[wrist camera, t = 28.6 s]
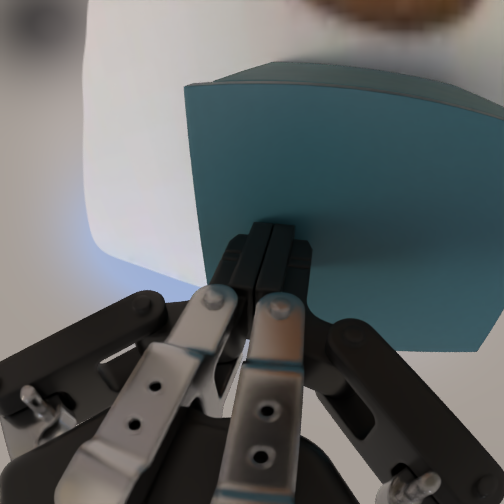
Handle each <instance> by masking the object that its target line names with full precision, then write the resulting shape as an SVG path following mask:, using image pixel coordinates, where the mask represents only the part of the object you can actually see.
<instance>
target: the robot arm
mask: <svg viewBox="0 0 504 504" xmlns="http://www.w3.org/2000/svg"><path fill="white" fill-rule="evenodd" d="M312 251H313V249H312V247H311V246H310V244H309V242H308V240H298V239H295V225H285V224H275V225H274V223H263V222H253V225H252V227H251V229H250V232H249V234H248V235H246V234H238V235H236V236H235V237H234V238H233V239H231V240H230V241H229V243H228V245H227V247H226V249H225V252H224V253H223V256H222V258H221V260H220V262H219V264H218V266H217V268H216V270H215V272H214V275H213V277H212V279H211V281H210V283H209V285H207V286H204V287H202V288H200V289H198V290H197V291H196V292H195V293H194V294H193V296H192V297H191V299H190V300H188V301H182V302H172V303H165V300H164V298H163V296H162V295H161V294H159V293H158V292H155V291H151V290H144V291H139V292H136V293H134V294H132V295H130V296H128V297H126V298H124V299H122V300H120V301H118V302H116V303H114V304H112V305H110V306H108V307H106V308H104V309H102V310H100V311H98V312H96V313H94V314H92V315H90V316H88V317H86V318H84V319H82V320H80V321H78V322H76V323H74V324H72V325H70V326H68V327H66V328H64V329H62V330H60V331H59V332H56V333H55V334H53V335H51V336H49V337H47V338H45V339H43V340H41V341H39V342H37V343H35V344H33V345H31V346H29V347H27V348H25V349H24V350H22V351H20V352H18V353H16V354H14V355H12V356H10V357H8V358H6V359H4V360H3V361H1V362H0V422H1V426H2V430H3V434H4V438H5V442H6V446H7V449H8V453H9V456H10V459H11V462H10V463H8V464H7V466H6V467H5V468H4V470H3V471H2V473H1V475H0V504H360V503H359V502H358V500H357V499H356V497H355V496H354V495H353V493H352V491H351V490H350V489H349V487H348V486H347V484H346V482H345V481H344V479H343V478H342V477H341V475H340V473H339V472H338V471H337V469H336V468H335V466H334V464H333V463H332V461H331V460H330V458H329V457H328V456H327V455H326V454H325V453H324V451H323V450H322V449H321V448H319V447H318V446H317V445H316V444H315V443H313V442H312V441H310V440H309V439H307V438H305V437H303V436H301V435H300V431H301V418H302V403H303V386H305V387H308V388H310V389H312V390H315V392H316V395H317V397H318V399H319V400H320V401H321V403H322V404H323V406H324V407H325V408H326V410H327V411H328V412H329V414H330V415H331V416H332V418H333V419H334V420H335V422H336V423H337V424H338V426H339V427H340V429H341V430H342V431H343V433H344V434H345V435H346V437H347V438H348V439H349V441H350V442H351V443H352V444H353V446H354V447H355V448H356V450H357V451H358V452H359V454H360V455H361V456H362V458H363V459H364V460H365V461H366V463H367V464H368V466H369V467H370V468H371V469H372V471H373V472H374V473H375V475H376V476H377V477H378V479H379V480H380V481H381V482H382V484H383V485H382V486H381V487H380V489H379V491H378V493H377V495H376V499H375V500H376V501H375V504H500V503H501V501H502V500H503V498H504V471H503V470H502V468H501V467H500V466H499V465H498V464H497V462H496V461H495V460H494V459H493V458H492V456H491V455H490V454H489V453H488V452H487V451H486V450H485V448H484V447H483V446H482V445H481V444H480V443H479V442H478V440H477V439H476V438H475V437H474V436H473V435H472V434H471V432H470V431H469V430H468V429H467V428H466V427H465V426H464V425H463V424H462V423H461V421H460V420H459V419H458V418H457V417H456V416H455V415H454V414H453V412H452V411H451V410H450V409H449V408H448V407H447V406H446V405H445V404H444V403H443V401H441V400H440V398H439V397H438V396H437V395H436V394H435V393H434V392H433V391H432V390H431V389H430V387H428V385H427V384H426V383H425V382H424V381H423V380H422V379H421V378H420V377H419V376H418V374H417V373H416V372H415V371H414V370H413V369H412V368H411V367H410V366H409V365H408V364H407V363H406V362H405V361H404V360H403V359H402V357H401V356H400V355H399V354H398V353H397V352H396V351H395V350H394V349H393V348H392V347H391V346H390V345H389V344H388V343H387V342H386V341H385V340H384V339H383V338H382V337H381V335H380V334H379V333H378V332H377V331H376V330H375V329H374V328H373V327H372V326H371V325H369V324H368V323H366V322H365V321H362V320H359V319H355V318H345V319H341V320H339V321H337V322H335V323H334V324H331V323H329V322H326V321H324V320H322V319H320V318H318V317H316V316H315V315H314V314H313V313H312V312H311V311H310V309H309V307H308V305H307V296H308V288H309V280H310V271H311V261H312ZM246 339H249V340H250V342H249V348H248V353H247V358H246V361H243V363H242V366H241V370H240V375H239V380H238V385H237V390H236V396H235V401H234V406H233V410H232V415H231V418H222V413H223V406H224V403H225V400H226V398H227V395H228V393H229V390H230V388H231V385H232V383H233V380H234V378H235V375H236V373H237V370H238V368H239V365H240V362H241V360H242V355H243V354H242V351H243V348H244V345H245V341H246ZM134 343H135V345H136V347H135V348H133V349H131V350H130V351H127V352H126V353H124V354H122V355H120V356H118V357H116V358H114V359H112V360H111V361H109V362H107V363H103V364H100V362H101V361H102V360H104V359H106V358H108V357H110V356H111V355H113V354H115V353H117V352H119V351H121V350H123V349H125V348H127V347H128V346H130V345H132V344H134ZM89 418H90V419H89ZM87 419H88V420H87ZM85 420H86V421H85ZM83 421H84V422H83ZM81 422H83V423H81ZM80 423H81V424H80ZM77 424H79V425H77ZM76 425H77V426H76Z"/></svg>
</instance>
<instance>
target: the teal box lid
mask: <svg viewBox="0 0 504 504" xmlns="http://www.w3.org/2000/svg"><path fill="white" fill-rule="evenodd" d="M184 97H185V108H186V118H187V129H188V139H189V148H190V157H191V166H192V175H193V184H194V192H195V200H196V208H197V215H198V223H199V230H200V238H201V245H202V252H203V259H204V266H205V272H206V279H207V285H209V283H210V281H211V279H212V277H213V275H214V272H215V270H216V268H217V266H218V264H219V262H220V260H221V258H222V256H223V253H224V252H225V249H226V247H227V245H228V243H229V241H230V240H231V239H233V238H234V237H235V236H236V235H238V234H246V235H248V234H249V232H250V229H251V227H252V225H253V222H263V223H274V225H275V224H285V225H295V239H298V240H308V242H309V244H310V246H311V247H312V249H313V251H312V261H311V271H310V280H309V288H308V296H307V305H308V307H309V309H310V311H311V312H312V313H313V314H314V315H315V316H316V317H318V318H320V319H322V320H324V321H326V322H329V323H331V324H334V323H335V322H337V321H339V320H341V319H345V318H355V319H359V320H362V321H365V322H366V323H368V324H369V325H371V326H372V327H373V328H374V329H375V330H376V331H377V332H378V333H379V334H380V335H381V337H382V338H383V339H384V340H385V341H386V342H387V343H388V344H389V345H390V346H391V347H392V348H393V349H394V350H395V351H416V352H421V351H422V352H477V351H478V349H479V348H480V346H481V345H482V343H483V342H484V340H485V339H486V337H487V336H488V334H489V333H490V331H491V329H492V328H493V326H494V325H495V323H496V321H497V320H498V318H499V316H500V315H501V313H502V311H503V309H504V118H503V117H500V116H497V115H493V114H490V113H487V112H483V111H480V110H476V109H473V108H469V107H465V106H461V105H457V104H453V103H449V102H445V101H440V100H436V99H431V98H426V97H421V96H416V95H411V94H405V93H399V92H393V91H387V90H380V89H373V88H365V87H356V86H347V85H337V84H325V83H310V82H289V81H227V82H206V83H192V84H190V85H187V86H185V87H184Z"/></svg>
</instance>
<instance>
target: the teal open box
mask: <svg viewBox="0 0 504 504" xmlns="http://www.w3.org/2000/svg"><path fill="white" fill-rule="evenodd" d="M227 81H289V82H310V83H325V84H337V85H347V86H356V87H365V88H373V89H380V90H387V91H393V92H399V93H405V94H411V95H416V96H421V97H426V98H431V99H436V100H440V101H445V102H449V103H453V104H457V105H461V106H465V107H469V108H473V109H476V110H480V111H483V112H487V113H490V114H493V115H497V116H500V117H503V118H504V107H502V106H500V105H498V104H496V103H493V102H491V101H489V100H487V99H485V98H483V97H480V96H478V95H476V94H473V93H471V92H469V91H466V90H464V89H462V88H459V87H457V86H454V85H451V84H447V83H443V82H438V81H434V80H430V79H425V78H420V77H415V76H410V75H405V74H399V73H393V72H387V71H381V70H374V69H366V68H358V67H350V66H340V65H328V64H314V63H293V62H271V63H268V64H264V65H261V66H258V67H254V68H251V69H248V70H245V71H241V72H238V73H235V74H232V75H229V76H226V77H224V78H221V79H218V80H215V81H213V82H227Z"/></svg>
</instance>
